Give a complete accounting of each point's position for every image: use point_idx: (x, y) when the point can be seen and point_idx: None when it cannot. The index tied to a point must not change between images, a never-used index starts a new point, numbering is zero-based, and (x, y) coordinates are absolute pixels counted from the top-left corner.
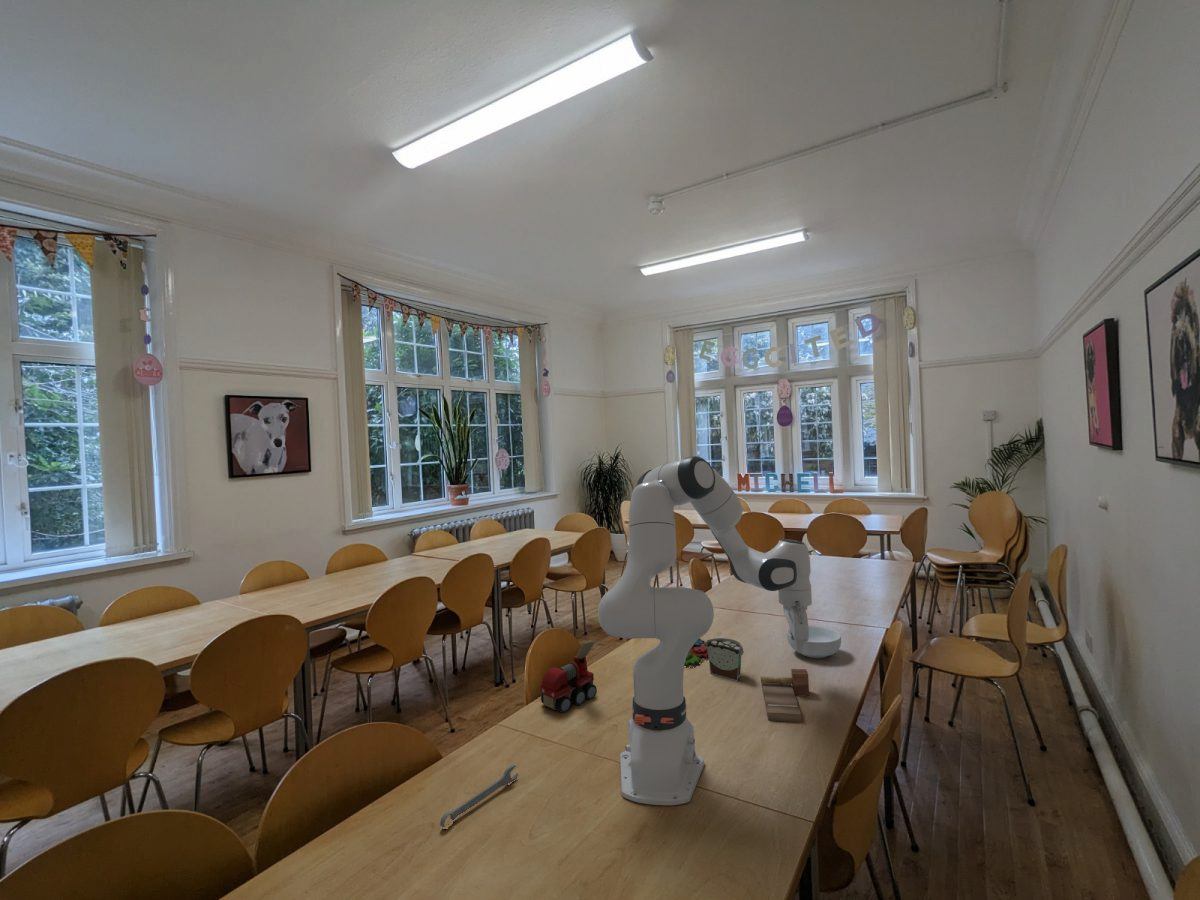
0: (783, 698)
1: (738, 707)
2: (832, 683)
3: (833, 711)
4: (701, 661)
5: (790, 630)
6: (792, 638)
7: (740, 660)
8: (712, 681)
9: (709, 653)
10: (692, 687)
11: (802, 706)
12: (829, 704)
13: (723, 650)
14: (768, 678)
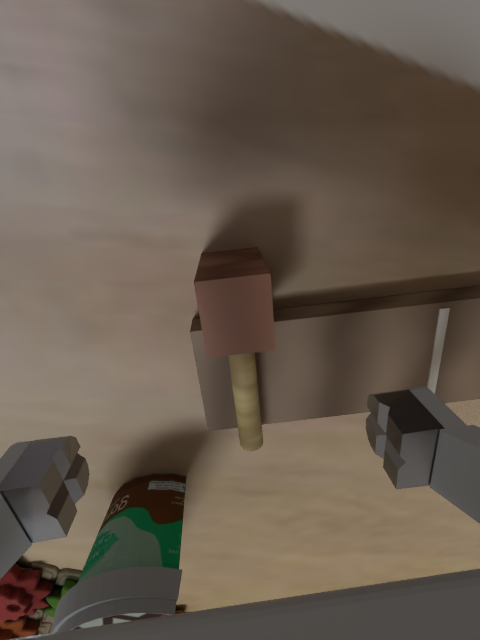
0: (372, 354)
1: (377, 457)
2: (75, 117)
3: (399, 148)
4: (70, 574)
5: (1, 575)
6: (84, 482)
7: (162, 541)
8: (207, 530)
9: None
10: (261, 560)
11: (358, 277)
12: (330, 160)
13: None
14: (256, 424)
